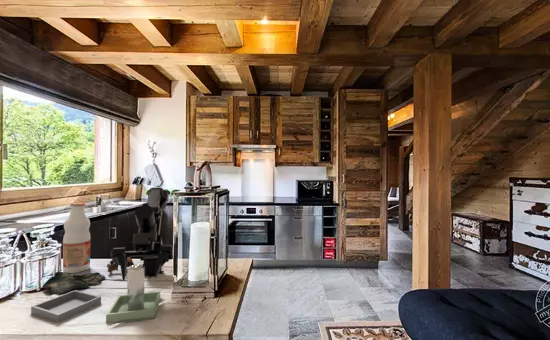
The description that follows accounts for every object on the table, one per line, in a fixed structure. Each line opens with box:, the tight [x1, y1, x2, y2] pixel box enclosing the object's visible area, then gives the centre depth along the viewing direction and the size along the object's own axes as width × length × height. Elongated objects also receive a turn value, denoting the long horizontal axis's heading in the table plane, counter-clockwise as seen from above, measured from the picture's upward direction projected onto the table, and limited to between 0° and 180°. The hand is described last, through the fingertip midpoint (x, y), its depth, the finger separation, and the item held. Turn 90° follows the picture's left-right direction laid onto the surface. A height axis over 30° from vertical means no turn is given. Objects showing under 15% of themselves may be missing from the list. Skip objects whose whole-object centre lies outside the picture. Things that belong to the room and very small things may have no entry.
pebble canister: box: [126, 263, 146, 311], centre depth 83 cm, size 5×5×13 cm
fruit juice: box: [62, 202, 91, 274], centre depth 117 cm, size 9×9×28 cm
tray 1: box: [30, 289, 102, 324], centre depth 83 cm, size 12×12×3 cm
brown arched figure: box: [106, 257, 135, 274], centre depth 115 cm, size 12×10×8 cm
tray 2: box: [105, 291, 161, 324], centre depth 83 cm, size 12×12×3 cm
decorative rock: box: [42, 271, 106, 296], centre depth 101 cm, size 19×6×15 cm
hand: (139, 278), depth 88 cm, fingers open, 9 cm apart
